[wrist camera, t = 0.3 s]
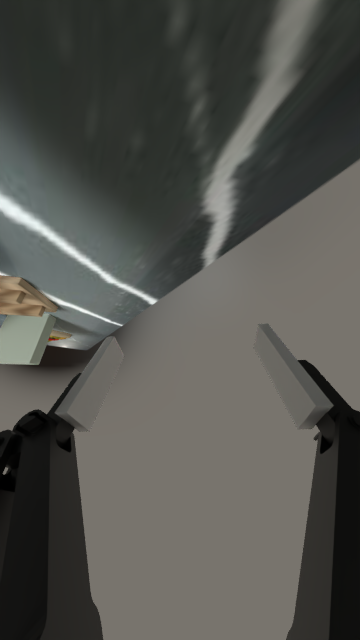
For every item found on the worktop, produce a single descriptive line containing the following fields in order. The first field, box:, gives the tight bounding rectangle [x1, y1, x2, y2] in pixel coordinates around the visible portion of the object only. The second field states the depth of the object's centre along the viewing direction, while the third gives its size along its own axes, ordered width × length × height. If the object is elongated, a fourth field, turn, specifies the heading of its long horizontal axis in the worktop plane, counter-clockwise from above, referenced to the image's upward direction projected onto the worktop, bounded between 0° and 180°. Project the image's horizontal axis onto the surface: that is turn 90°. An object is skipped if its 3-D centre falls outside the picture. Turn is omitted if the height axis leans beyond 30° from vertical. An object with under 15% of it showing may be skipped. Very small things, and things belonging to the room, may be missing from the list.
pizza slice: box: [48, 330, 71, 342], centre depth 61 cm, size 16×21×3 cm
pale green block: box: [0, 314, 56, 365], centre depth 40 cm, size 10×4×14 cm, turn 80°
